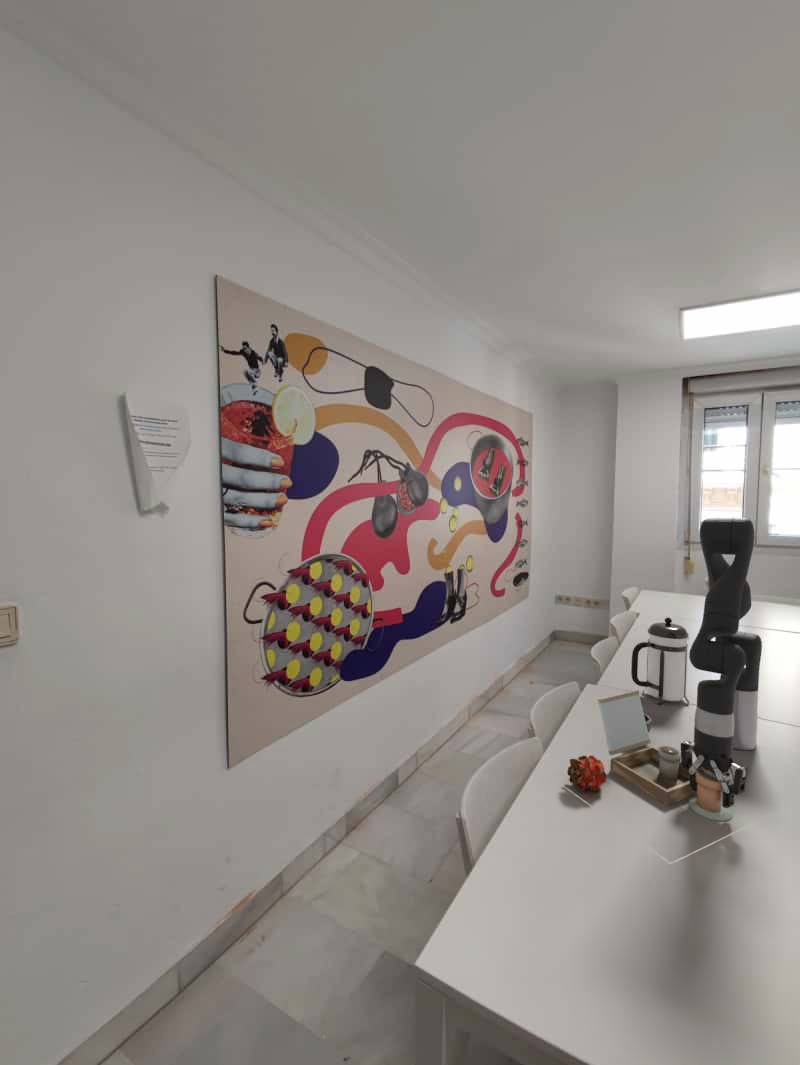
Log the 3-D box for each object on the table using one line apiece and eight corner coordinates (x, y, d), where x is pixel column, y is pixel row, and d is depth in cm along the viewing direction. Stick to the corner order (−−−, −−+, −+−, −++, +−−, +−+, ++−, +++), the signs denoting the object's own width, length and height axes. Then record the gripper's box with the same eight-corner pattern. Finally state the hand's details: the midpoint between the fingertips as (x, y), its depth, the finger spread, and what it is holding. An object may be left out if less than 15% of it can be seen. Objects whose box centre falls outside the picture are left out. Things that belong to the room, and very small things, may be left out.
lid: (650, 742, 132) (648, 742, 133) (638, 690, 135) (636, 690, 136) (611, 755, 126) (609, 754, 126) (600, 699, 129) (597, 699, 130)
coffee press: (648, 687, 184) (651, 610, 182) (695, 699, 172) (698, 617, 170) (629, 699, 172) (632, 617, 170) (678, 714, 161) (682, 626, 159)
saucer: (703, 795, 116) (703, 792, 116) (740, 815, 108) (740, 812, 108) (680, 804, 112) (681, 801, 112) (717, 826, 105) (717, 823, 105)
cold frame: (630, 747, 139) (632, 705, 138) (709, 789, 118) (711, 741, 118) (590, 759, 132) (591, 716, 131) (667, 806, 111) (669, 755, 111)
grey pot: (665, 768, 127) (666, 743, 127) (684, 778, 123) (685, 752, 122) (652, 772, 125) (653, 747, 125) (671, 783, 120) (672, 757, 120)
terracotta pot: (703, 795, 115) (705, 765, 114) (729, 809, 109) (731, 779, 109) (688, 801, 112) (690, 771, 111) (713, 816, 107) (715, 785, 106)
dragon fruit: (570, 802, 115) (593, 789, 124) (600, 794, 111) (622, 781, 119) (554, 765, 119) (577, 755, 128) (582, 755, 115) (604, 746, 123)
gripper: (758, 738, 104) (754, 811, 105) (693, 712, 117) (690, 777, 118) (737, 745, 101) (733, 821, 102) (673, 718, 114) (670, 785, 115)
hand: (710, 797), depth 110 cm, fingers open, 6 cm apart
